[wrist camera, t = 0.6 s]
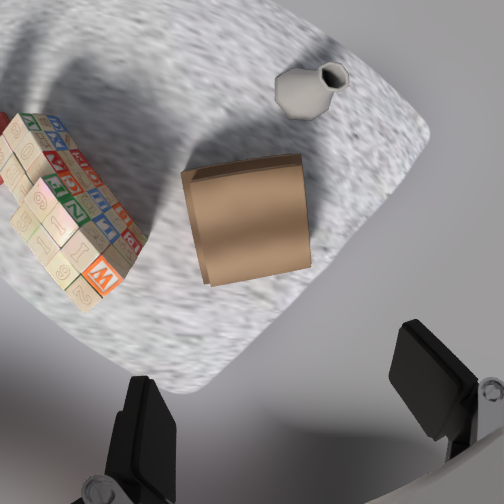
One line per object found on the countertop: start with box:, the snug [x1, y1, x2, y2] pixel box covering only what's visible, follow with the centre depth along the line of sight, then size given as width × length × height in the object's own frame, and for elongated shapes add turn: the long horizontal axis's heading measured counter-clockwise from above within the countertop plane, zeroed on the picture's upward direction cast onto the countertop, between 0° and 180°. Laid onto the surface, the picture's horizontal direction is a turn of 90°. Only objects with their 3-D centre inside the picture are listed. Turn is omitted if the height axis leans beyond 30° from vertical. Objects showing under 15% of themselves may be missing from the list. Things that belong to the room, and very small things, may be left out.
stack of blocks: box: [0, 113, 148, 313], centre depth 25 cm, size 21×6×12 cm, turn 35°
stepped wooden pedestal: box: [181, 154, 311, 287], centre depth 32 cm, size 13×13×7 cm
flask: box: [275, 61, 349, 121], centre depth 26 cm, size 7×7×10 cm
